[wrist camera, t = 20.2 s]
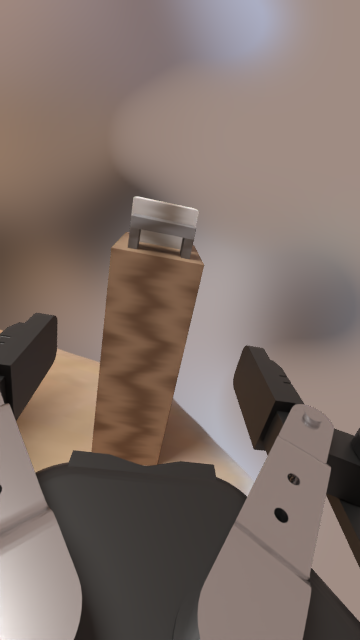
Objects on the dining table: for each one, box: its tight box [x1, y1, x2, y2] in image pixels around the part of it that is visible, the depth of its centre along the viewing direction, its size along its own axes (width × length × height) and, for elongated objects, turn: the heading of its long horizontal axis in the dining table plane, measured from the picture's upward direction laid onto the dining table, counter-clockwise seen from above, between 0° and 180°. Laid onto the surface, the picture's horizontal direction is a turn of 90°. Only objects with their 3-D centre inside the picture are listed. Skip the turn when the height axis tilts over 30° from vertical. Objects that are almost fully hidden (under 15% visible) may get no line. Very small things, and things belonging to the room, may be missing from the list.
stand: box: [92, 196, 204, 466], centre depth 41 cm, size 10×12×37 cm
